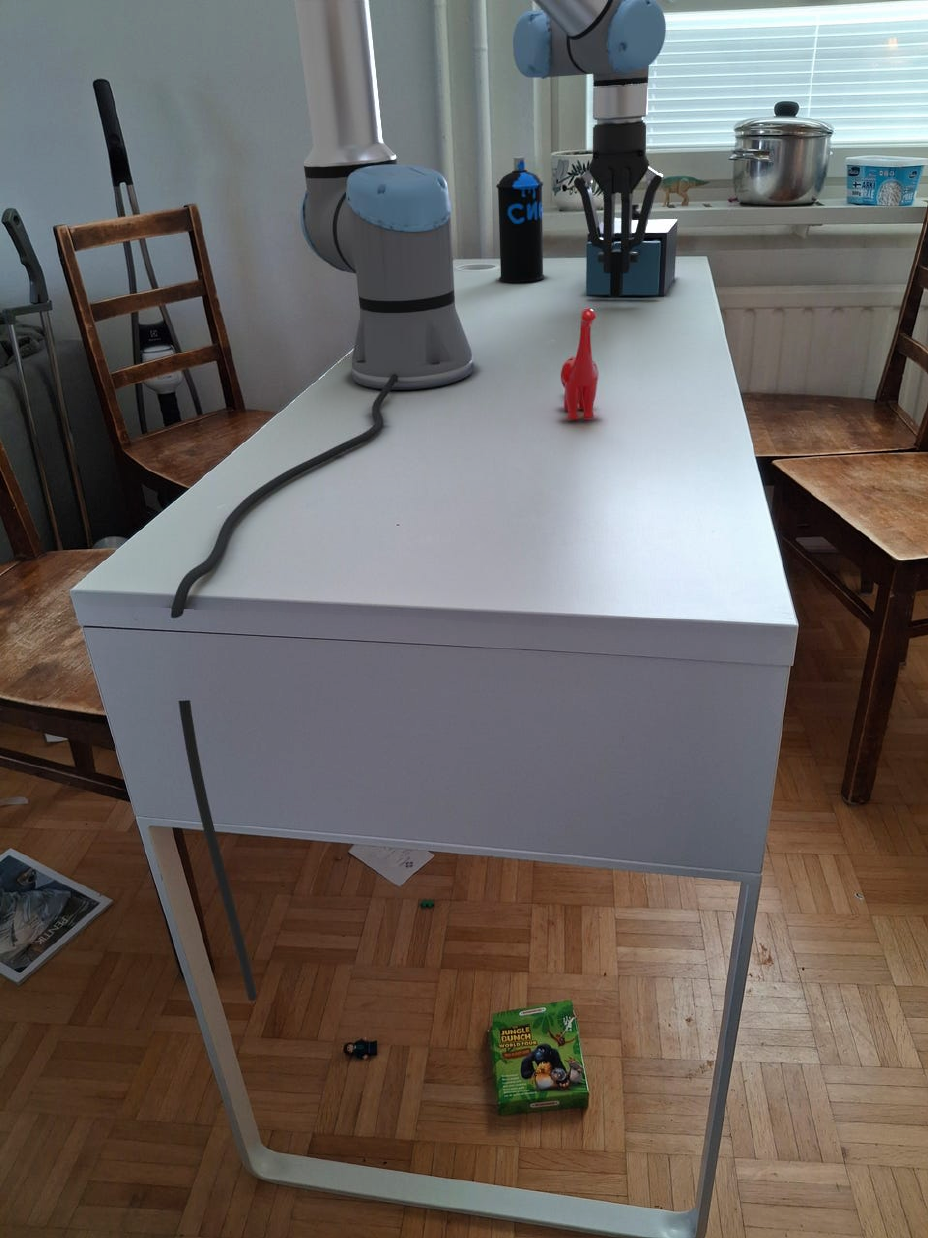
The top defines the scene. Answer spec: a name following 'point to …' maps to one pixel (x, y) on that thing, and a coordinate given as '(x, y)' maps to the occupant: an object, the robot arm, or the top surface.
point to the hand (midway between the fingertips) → (616, 295)
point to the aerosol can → (520, 225)
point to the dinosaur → (581, 373)
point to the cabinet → (668, 249)
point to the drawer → (641, 272)
